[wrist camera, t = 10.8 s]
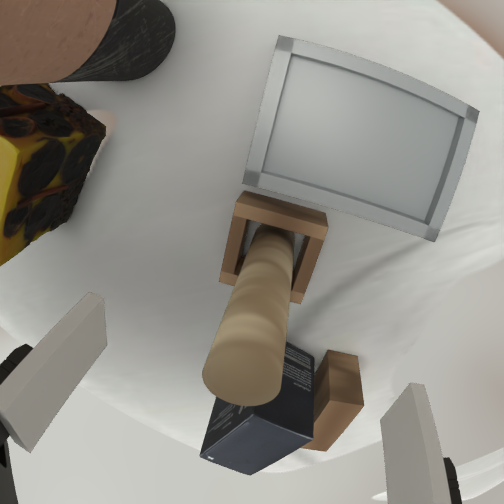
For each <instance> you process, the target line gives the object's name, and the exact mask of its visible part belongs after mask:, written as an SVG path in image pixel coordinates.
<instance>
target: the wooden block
mask: <svg viewBox="0 0 504 504" xmlns="http://www.w3.org/2000/svg"><path fill="white" fill-rule="evenodd" d="M363 407H364V400H363V392H362V384H361V377H360V370H359V363H358V356H354V355H349V354H345V353H340V352H335V351H331V350H328V351H327V353H326V355H325V357H324V358H323V360H322V362H321V364H320V366H319V368H318V370H317V372H316V373H315V375H314V431H313V435H314V439H313V440H312V441H311V442H309V443H307V444H305V445H304V446H302V447H300V448H304V449H311V450H318V451H325V452H326V451H327V450H328V449H329V448H330V447H331V445H332V444H333V443H334V442H335V441H336V440H337V439H338V437H339V436H340V435H341V434H342V433H343V431H344V430H345V429H346V428H347V427H348V425H349V424H350V423H351V422H352V421H353V419H354V418H355V417H356V416H357V414H358V413H359V412H360V410H361V409H362V408H363Z"/></svg>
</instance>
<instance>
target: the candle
mask: <svg viewBox="0 0 504 504" xmlns="http://www.w3.org/2000/svg"><path fill="white" fill-rule="evenodd" d="M105 136H106V126H105V125H104V124H102V123H101V122H100V121H98V120H97V119H95V118H94V117H93V116H91V115H90V114H88V113H87V112H86V110H84V109H83V108H82V107H80V106H79V105H77V104H75V103H74V102H73V101H72V100H71V99H69V98H68V97H64V95H63V93H62V94H60V95H56V94H55V93H54V92H53V91H52V90H51V89H50V88H49V86H48V85H47V84H46V83H36V84H15V85H2V86H0V266H1V265H3V264H4V263H6V262H7V261H9V260H10V259H11V258H13V257H14V256H16V255H17V254H18V253H19V252H21V251H22V250H23V249H24V248H26V247H27V246H28V245H30V243H31V242H33V241H35V240H37V239H38V238H39V237H40V236H42V235H43V234H45V233H46V232H49V231H52V230H54V229H56V228H57V227H59V225H61V224H63V223H65V222H67V220H68V219H69V217H70V215H71V213H72V211H73V206H74V205H75V204H76V202H77V199H78V194H79V193H80V191H81V188H82V186H83V182H84V181H85V179H86V176H87V173H88V172H89V171H90V166H91V163H92V161H93V158H94V156H95V155H96V153H97V151H98V149H99V146H100V144H101V141H102V140H103V139H104V137H105Z"/></svg>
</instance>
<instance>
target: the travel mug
mask: <svg viewBox="0 0 504 504" xmlns="http://www.w3.org/2000/svg"><path fill="white" fill-rule="evenodd" d="M174 35H175V23H174V19H173V16H172V14H171V12H170V10H169V9H168V8H167V7H166V6H165V5H164V4H163V3H162V2H161V1H160V0H0V86H2V85H15V84H36V83H57V82H77V81H129V80H134V79H137V78H140V77H143V76H145V75H147V74H148V73H150V72H151V71H153V70H154V69H155V68H156V67H157V66H159V65H160V63H161V62H162V61H163V60H164V59H165V57H166V56H167V54H168V52H169V51H170V49H171V46H172V44H173V40H174Z"/></svg>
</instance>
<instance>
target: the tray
mask: <svg viewBox="0 0 504 504" xmlns="http://www.w3.org/2000/svg"><path fill="white" fill-rule="evenodd" d="M478 115H479V111H478V110H477V109H475V108H473V107H471V106H470V105H468V104H466V103H464V102H462V101H460V100H459V99H457V98H455V97H453V96H451V95H449V94H447V93H445V92H443V91H441V90H439V89H437V88H435V87H433V86H431V85H428V84H426V83H424V82H422V81H420V80H417V79H415V78H413V77H411V76H408V75H406V74H403V73H401V72H399V71H396V70H394V69H391V68H388V67H386V66H383V65H381V64H378V63H375V62H372V61H370V60H367V59H364V58H361V57H358V56H355V55H352V54H349V53H346V52H342V51H339V50H336V49H332V48H329V47H325V46H322V45H318V44H314V43H310V42H307V41H302V40H298V39H294V38H290V37H285V36H280V35H279V36H278V40H277V44H276V48H275V51H274V55H273V59H272V63H271V67H270V71H269V75H268V79H267V83H266V87H265V91H264V95H263V99H262V103H261V107H260V111H259V115H258V119H257V123H256V127H255V132H254V136H253V140H252V144H251V148H250V152H249V157H248V161H247V165H246V170H245V174H244V178H243V182H242V184H246V185H250V186H254V187H258V188H261V189H265V190H269V191H273V192H276V193H280V194H284V195H287V196H291V197H294V198H298V199H301V200H305V201H308V202H312V203H315V204H319V205H322V206H325V207H329V208H332V209H335V210H339V211H342V212H345V213H348V214H351V215H355V216H358V217H361V218H364V219H367V220H370V221H373V222H377V223H380V224H383V225H386V226H389V227H392V228H395V229H398V230H401V231H404V232H406V233H409V234H412V235H415V236H418V237H421V238H424V239H426V240H429V241H432V242H435V241H436V238H437V236H438V234H439V231H440V229H441V226H442V224H443V222H444V219H445V217H446V214H447V212H448V209H449V206H450V204H451V201H452V198H453V196H454V193H455V190H456V188H457V185H458V182H459V179H460V176H461V173H462V170H463V167H464V164H465V161H466V158H467V154H468V151H469V148H470V145H471V141H472V138H473V134H474V130H475V127H476V123H477V119H478Z"/></svg>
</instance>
